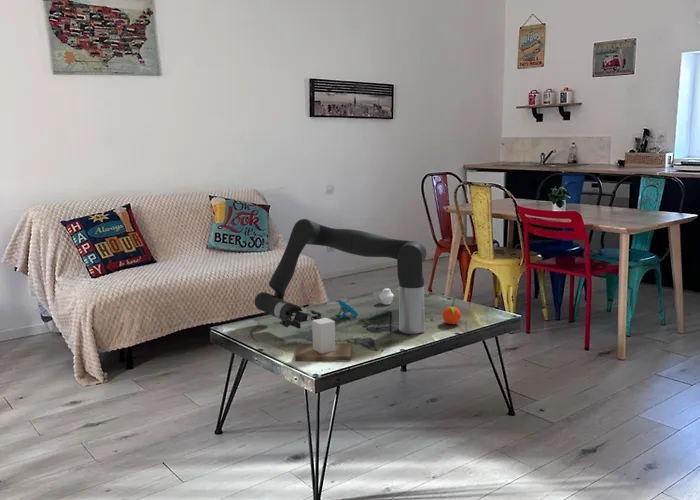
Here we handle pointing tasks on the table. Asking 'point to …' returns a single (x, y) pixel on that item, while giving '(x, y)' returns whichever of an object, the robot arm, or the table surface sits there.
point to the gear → (345, 309)
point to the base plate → (309, 354)
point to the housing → (323, 335)
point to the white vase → (386, 296)
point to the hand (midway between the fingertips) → (310, 323)
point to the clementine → (451, 315)
